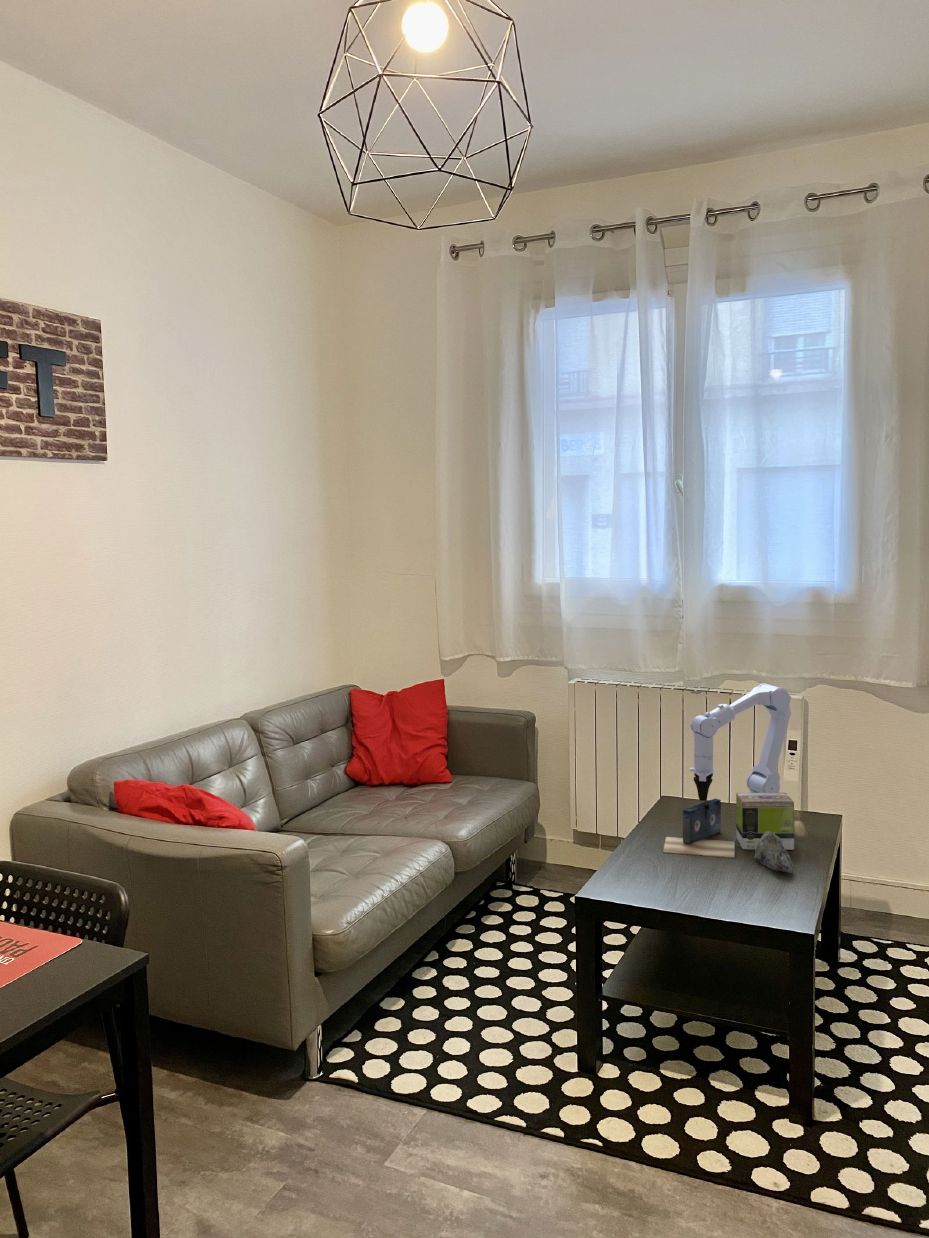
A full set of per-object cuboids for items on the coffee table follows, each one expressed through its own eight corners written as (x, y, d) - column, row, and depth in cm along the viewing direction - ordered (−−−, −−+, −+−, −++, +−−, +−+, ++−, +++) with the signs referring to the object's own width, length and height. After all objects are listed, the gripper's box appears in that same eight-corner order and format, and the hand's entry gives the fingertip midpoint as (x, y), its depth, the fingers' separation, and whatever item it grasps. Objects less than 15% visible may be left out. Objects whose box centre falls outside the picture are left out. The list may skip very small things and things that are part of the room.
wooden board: (666, 837, 297) (666, 836, 296) (734, 842, 291) (734, 841, 291) (663, 852, 284) (663, 851, 284) (734, 858, 278) (734, 857, 278)
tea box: (786, 839, 293) (787, 791, 292) (794, 851, 283) (795, 801, 282) (735, 838, 295) (735, 791, 293) (741, 850, 285) (742, 800, 283)
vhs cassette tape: (713, 829, 304) (714, 797, 303) (722, 831, 301) (722, 799, 301) (680, 842, 291) (681, 809, 290) (689, 844, 289) (689, 811, 288)
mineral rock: (792, 879, 262) (793, 843, 261) (750, 874, 266) (751, 838, 265) (794, 863, 274) (795, 828, 273) (755, 858, 278) (755, 824, 277)
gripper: (691, 748, 308) (690, 790, 309) (689, 760, 294) (688, 803, 295) (714, 749, 306) (713, 792, 307) (713, 761, 292) (712, 805, 293)
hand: (703, 798), depth 301 cm, fingers open, 4 cm apart
